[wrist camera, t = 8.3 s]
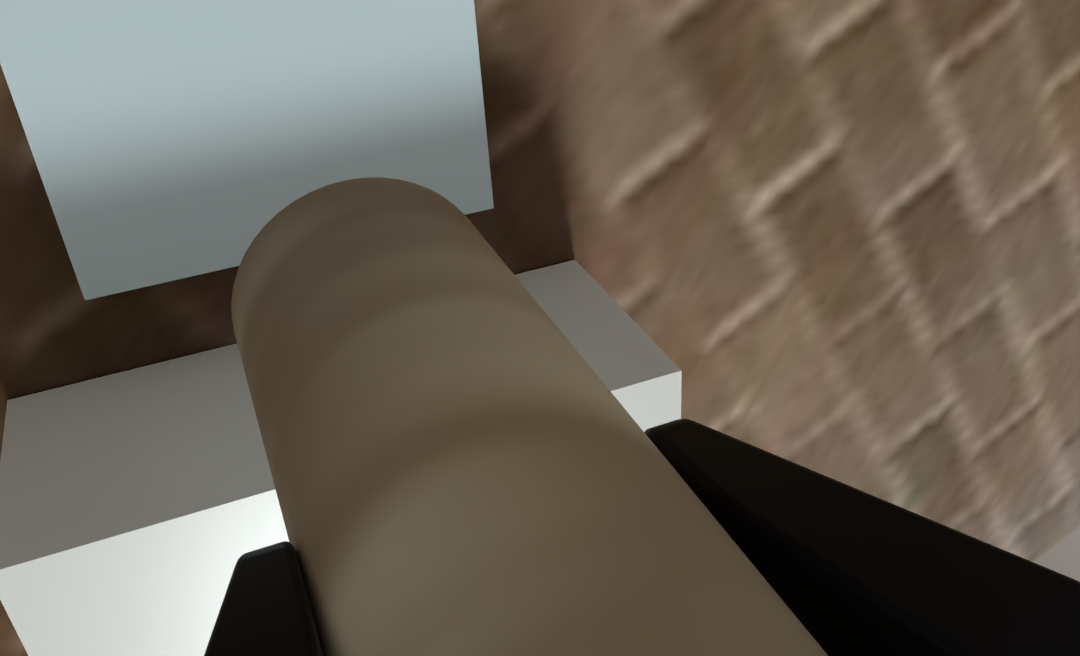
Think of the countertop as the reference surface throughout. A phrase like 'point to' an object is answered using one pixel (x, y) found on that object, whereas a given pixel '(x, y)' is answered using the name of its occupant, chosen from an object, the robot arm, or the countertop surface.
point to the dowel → (468, 454)
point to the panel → (201, 483)
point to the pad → (234, 118)
